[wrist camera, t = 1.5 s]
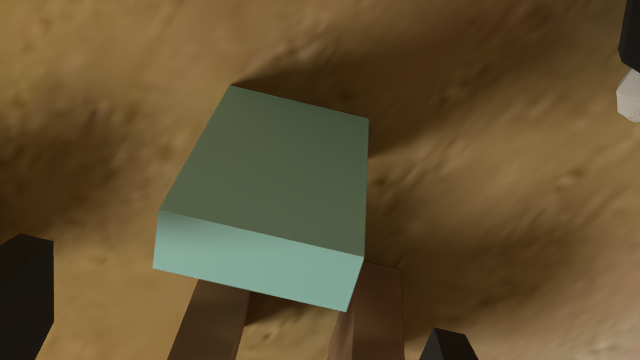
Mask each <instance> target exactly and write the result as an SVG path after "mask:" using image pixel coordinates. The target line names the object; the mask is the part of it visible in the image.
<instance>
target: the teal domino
mask: <svg viewBox="0 0 640 360" xmlns="http://www.w3.org/2000/svg"><path fill="white" fill-rule="evenodd" d="M368 133H369V118H364V117H360V116H356V115H352V114H348V113H344V112H340V111H335V110H331V109H327V108H323V107H319V106H315V105H311V104H306V103H302V102H298V101H294V100H290V99H286V98H282V97H277V96H273V95H269V94H265V93H261V92H257V91H253V90H248V89H244V88H240V87H236V86H232V85H229V87H228V89H227V91H226V92H225V94H224V96H223V98H222V99H221V101H220V103H219V105H218V106H217V108H216V110H215V112H214V113H213V115H212V117H211V119H210V120H209V122H208V124H207V126H206V128H205V129H204V131H203V133H202V135H201V136H200V138H199V140H198V142H197V143H196V145H195V147H194V149H193V150H192V152H191V154H190V156H189V157H188V159H187V161H186V163H185V164H184V166H183V168H182V170H181V172H180V173H179V175H178V177H177V179H176V180H175V182H174V184H173V186H172V187H171V189H170V191H169V193H168V194H167V196H166V198H165V200H164V201H163V203H162V205H161V207H160V208H159V213H158V222H157V232H156V241H155V251H154V261H153V268H154V269H158V270H163V271H167V272H172V273H176V274H180V275H185V276H189V277H193V278H198V279H202V280H207V281H211V282H215V283H220V284H224V285H229V286H233V287H237V288H242V289H246V290H251V291H255V292H259V293H264V294H268V295H273V296H277V297H281V298H286V299H290V300H294V301H299V302H303V303H308V304H312V305H316V306H321V307H325V308H330V309H334V310H338V311H343V312H346V311H347V308H348V305H349V302H350V299H351V296H352V293H353V290H354V287H355V284H356V281H357V278H358V275H359V272H360V269H361V266H362V263H363V260H364V251H365V221H366V192H367V162H368Z"/></svg>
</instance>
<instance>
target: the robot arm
mask: <svg viewBox="0 0 640 360" xmlns="http://www.w3.org/2000/svg"><path fill="white" fill-rule="evenodd" d="M53 322H54V256H53V241H50V240H46V239H41V238H37V237H33V236H28V235H24V234H19V235H18V236H16V237H14V238H12V239H11V240H9V241H7V242H5V243H4V244H2V245H0V360H35V358H36V356H37V354H38V353H39V351H40V349H41V347H42V345H43V343H44V341H45V339H46V337H47V335H48V333H49V330H50V328H51V326H52V324H53ZM419 360H478V358H477V356H476V354H475V352H474V350H473V348H472V346H471V345H470V343H469V341H468V339H467V337H466V336H465V334H460V333H456V332H452V331H447V330H443V329H438V328H434V327H433V330H432V332H431V334H430V336H429V339H428V341H427V343H426V345H425V348H424V350H423V352H422V355H421V357H420V359H419Z"/></svg>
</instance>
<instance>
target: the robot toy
mask: <svg viewBox="0 0 640 360" xmlns="http://www.w3.org/2000/svg"><path fill="white" fill-rule="evenodd" d="M618 51H619V55H620V58H621V62H623V63H624V64H626V65H627V66H629V67H631V68H630V70H629V71H628V72H627V73H626V75H625V76H624V77H623V79H622V80H621V81H620V83H619V84H618V87H617V90H616V93H617V106H618V112H619V113H620V114H621V115H623V116H624V117H626V118H627V119H629V120H631V121H633V122H640V0H627V3H626V9H625V14H624V20H623V25H622V31H621V36H620V42H619V47H618Z"/></svg>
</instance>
